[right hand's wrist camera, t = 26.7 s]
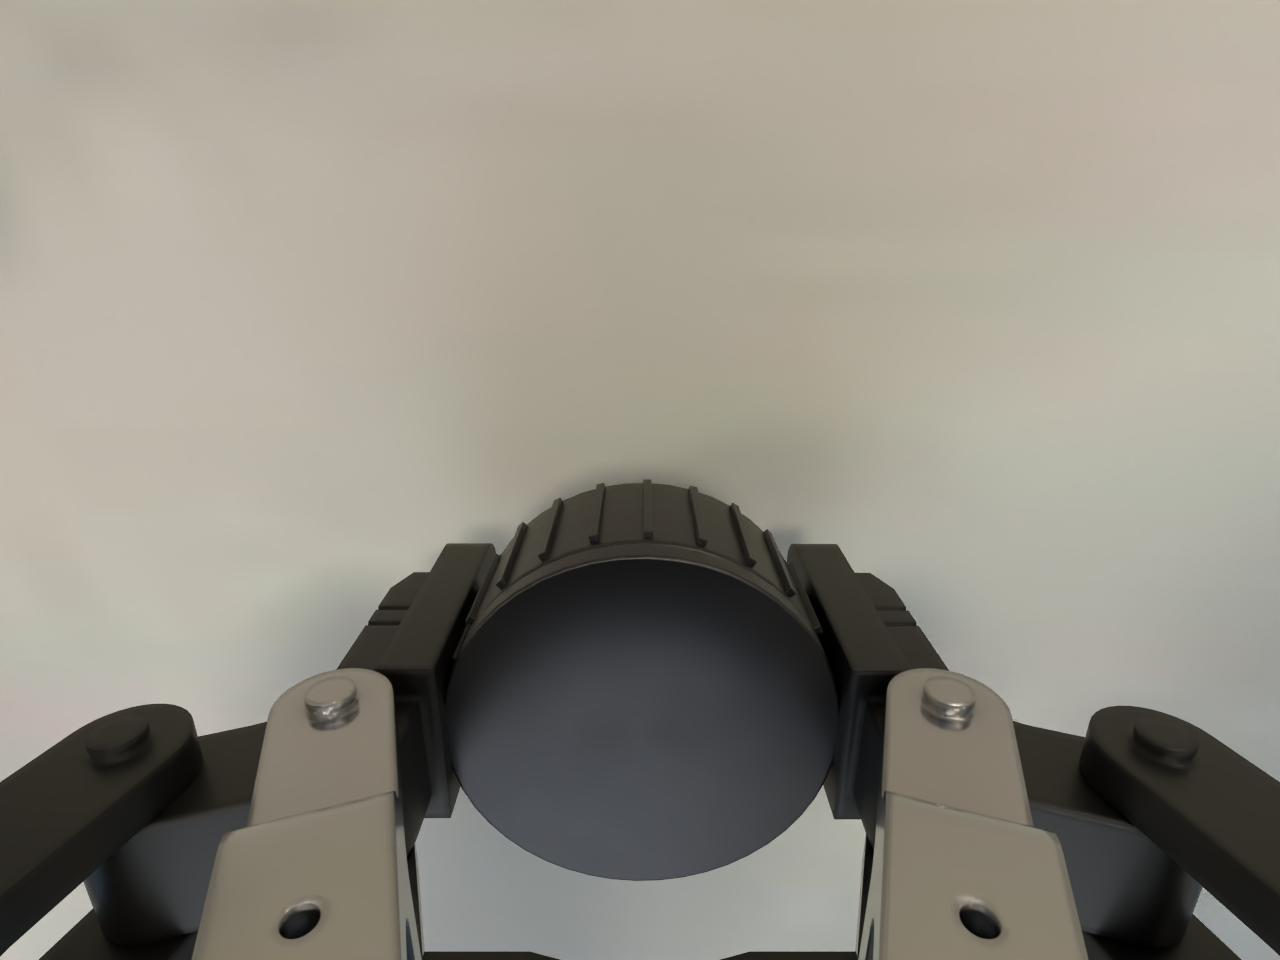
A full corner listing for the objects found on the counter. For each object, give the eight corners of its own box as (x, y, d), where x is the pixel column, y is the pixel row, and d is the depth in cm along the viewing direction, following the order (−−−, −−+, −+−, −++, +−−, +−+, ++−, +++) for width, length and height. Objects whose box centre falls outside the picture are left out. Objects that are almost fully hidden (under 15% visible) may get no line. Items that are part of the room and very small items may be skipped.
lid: (551, 420, 10) (524, 481, 8) (865, 556, 11) (925, 648, 8) (434, 697, 11) (383, 814, 9) (714, 798, 12) (731, 928, 10)
